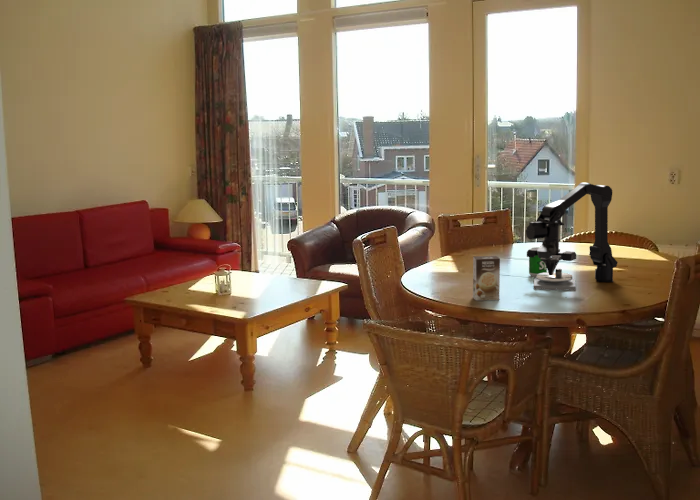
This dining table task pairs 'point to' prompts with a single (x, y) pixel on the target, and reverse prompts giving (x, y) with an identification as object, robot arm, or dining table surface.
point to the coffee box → (486, 277)
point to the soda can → (536, 266)
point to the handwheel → (555, 276)
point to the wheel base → (554, 285)
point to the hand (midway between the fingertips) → (550, 275)
